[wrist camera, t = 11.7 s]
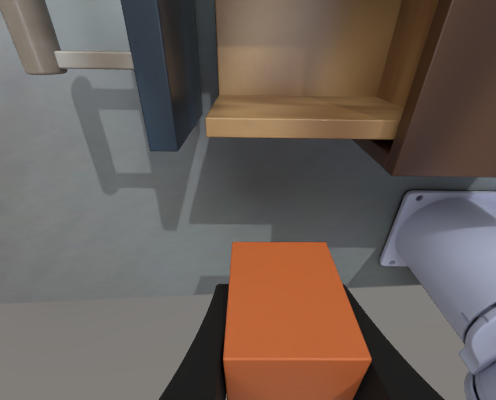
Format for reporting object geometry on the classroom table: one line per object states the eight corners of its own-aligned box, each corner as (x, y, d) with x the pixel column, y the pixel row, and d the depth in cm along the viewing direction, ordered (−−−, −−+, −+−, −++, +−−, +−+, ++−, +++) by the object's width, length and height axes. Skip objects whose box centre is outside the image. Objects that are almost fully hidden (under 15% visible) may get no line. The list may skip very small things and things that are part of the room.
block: (326, 241, 11) (373, 359, 7) (313, 301, 14) (343, 420, 9) (232, 241, 11) (222, 359, 7) (234, 301, 14) (228, 420, 9)
